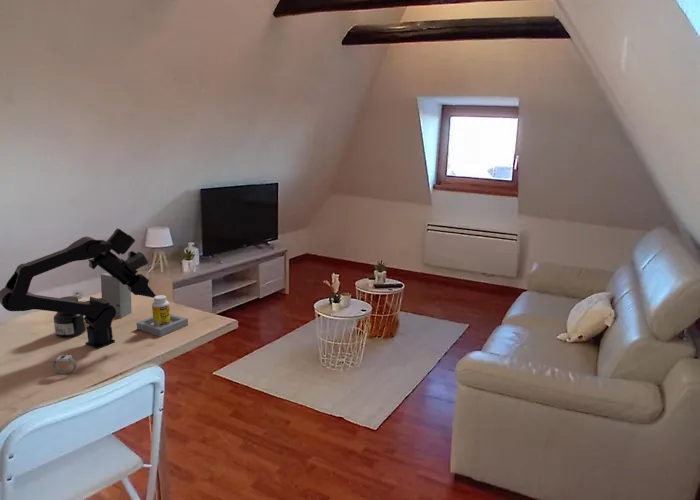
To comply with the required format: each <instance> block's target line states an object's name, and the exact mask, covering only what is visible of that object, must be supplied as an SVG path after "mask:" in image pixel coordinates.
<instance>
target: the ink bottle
mask: <svg viewBox="0 0 700 500" xmlns="http://www.w3.org/2000/svg"><path fill="white" fill-rule="evenodd" d="M60 298H61V299H68V300H75V301H79V298H78V297H77V296H74V295H73V296H69V295H68V296H63V297H60ZM84 317H85V316H84V315H77V314H69V313H61V312H56V314H55V315H53V325H54V333H55V336H56V337H58V338H64V339H65V338H72V337H77V336H79V335H82V334H83V333H84V332H85V331H86V324H85V320H84Z"/></svg>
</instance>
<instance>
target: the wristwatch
mask: <svg viewBox="0 0 700 500" xmlns="http://www.w3.org/2000/svg"><path fill="white" fill-rule="evenodd" d="M68 361H70V362H71V363H72V366H73V368H72V369H70V370H67V371H66V370H65V371H64V370H61V369H60V368H59V367H58V366H57V362H68ZM52 369H53V370H54V371H55V372H57V373H58V374H61V375H67V374H71V373H73V372H74V371H75V370H76V369H77V362H76V360H75V359H74V358H73V356H72V355H71V354H70V355H69V354H63V355H62V354H60V355H59V356H58V357H56V358H55V360H54V361H53V363H52Z"/></svg>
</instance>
